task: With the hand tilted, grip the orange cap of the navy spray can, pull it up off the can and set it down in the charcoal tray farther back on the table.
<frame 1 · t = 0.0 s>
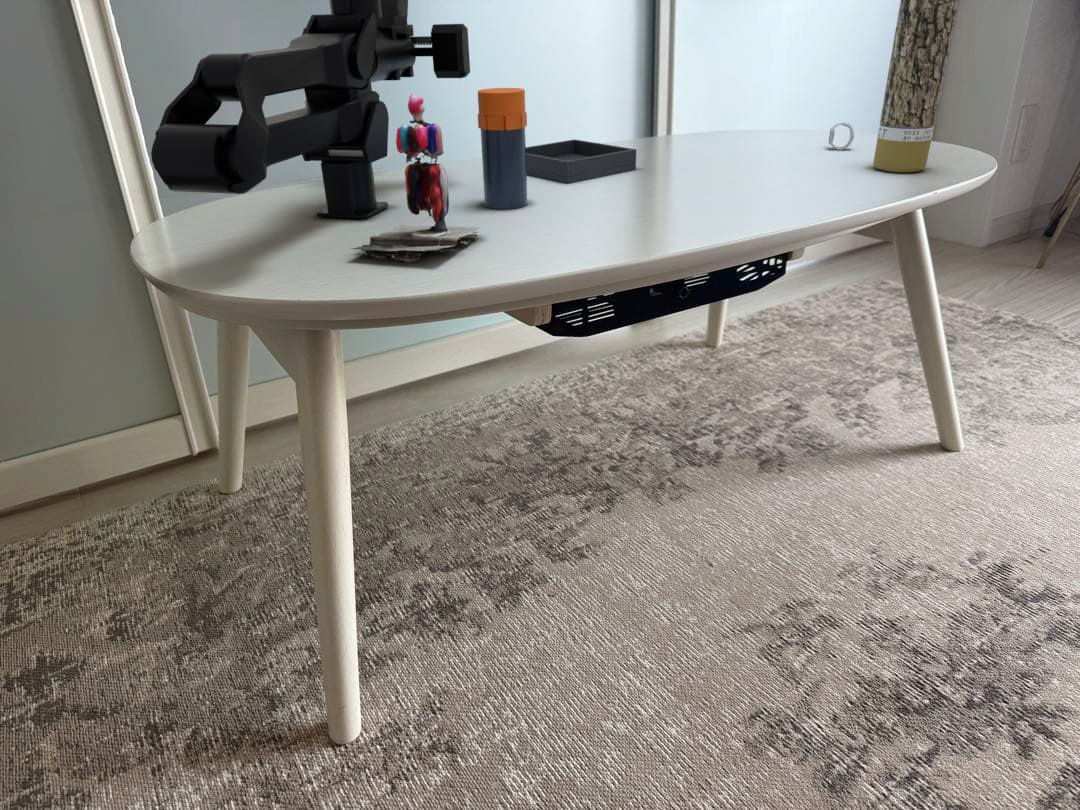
hand: (423, 47, 107), 17 cm above the table, tool horizontal, fingers open, 9 cm apart
spray can cap: (502, 126, 91), point 9 cm above the table, touching spray can
statue: (418, 250, 79), on the table
grey ring: (838, 150, 123), on the table
spray can: (506, 204, 95), on the table, touching spray can cap
tray: (571, 169, 113), on the table
paper tube: (898, 170, 108), on the table
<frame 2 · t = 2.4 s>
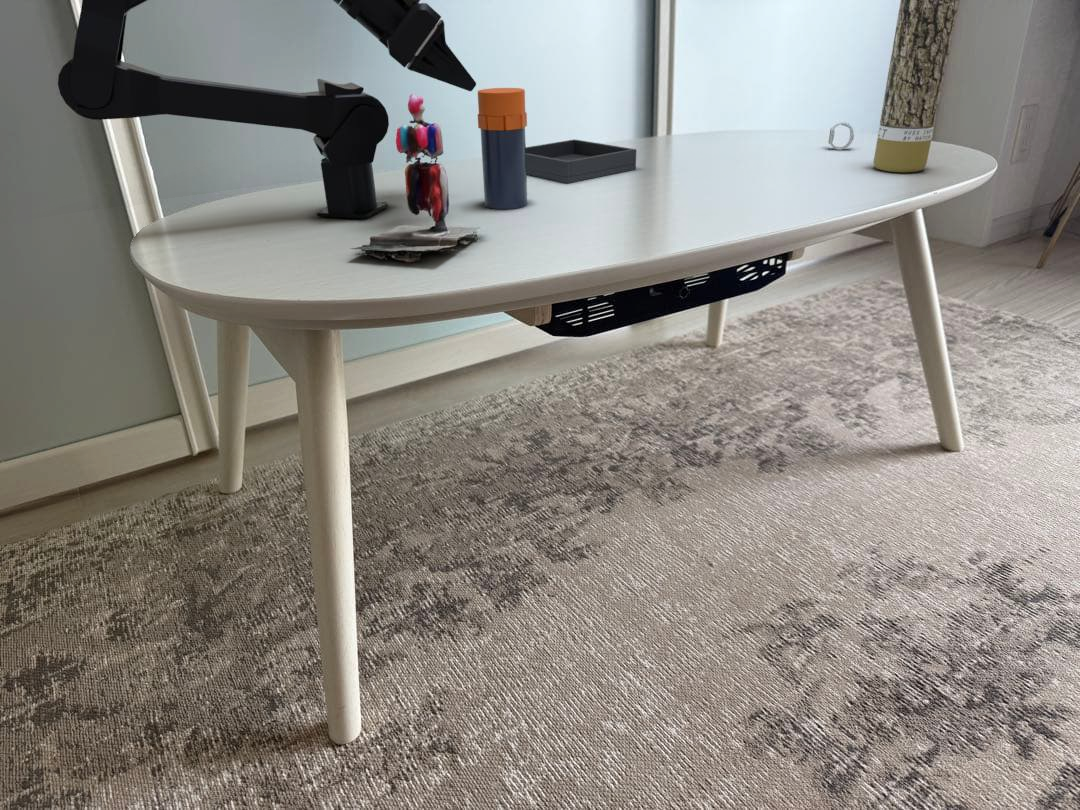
hand: (468, 83, 90), 14 cm above the table, tool tilted 50°, fingers open, 9 cm apart
nothing on the table moved.
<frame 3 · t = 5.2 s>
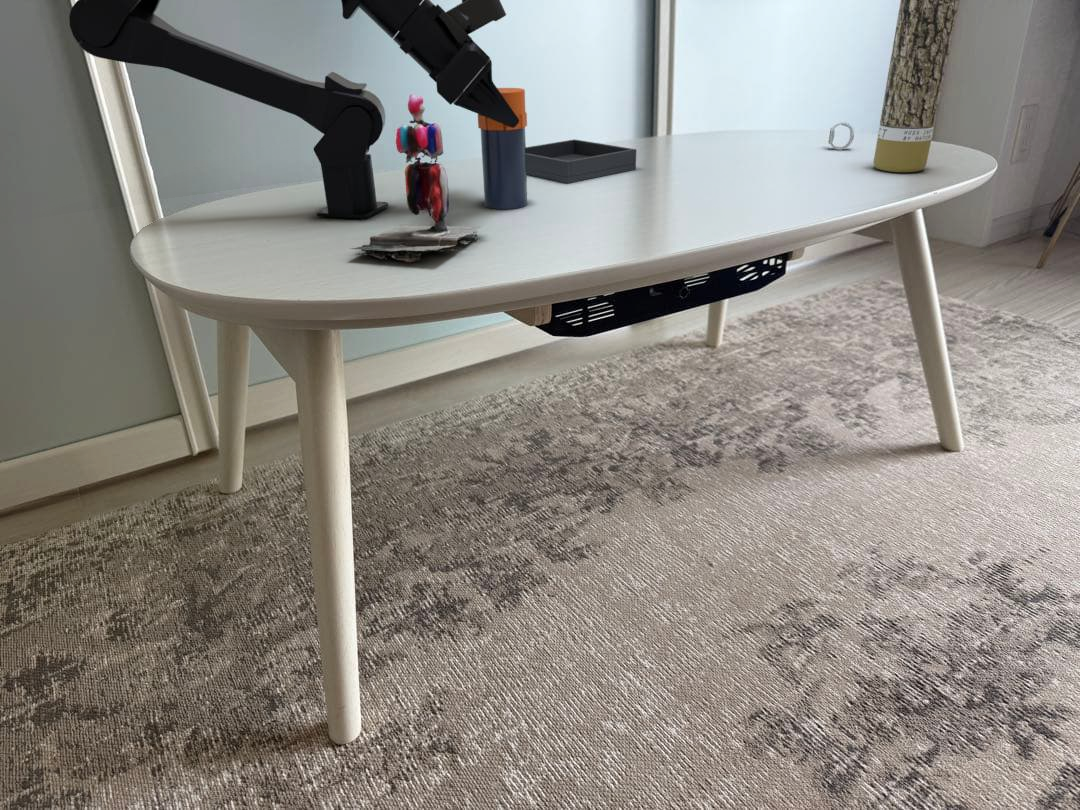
hand: (514, 121, 91), 10 cm above the table, tool tilted 45°, fingers closed on spray can cap, 5 cm apart
spray can cap: (502, 126, 91), point 9 cm above the table, touching gripper, spray can
everything else where it was.
when the fingers open (3 cm above the table, at t = 14.2 s): spray can cap drops 1 cm, resting on tray.
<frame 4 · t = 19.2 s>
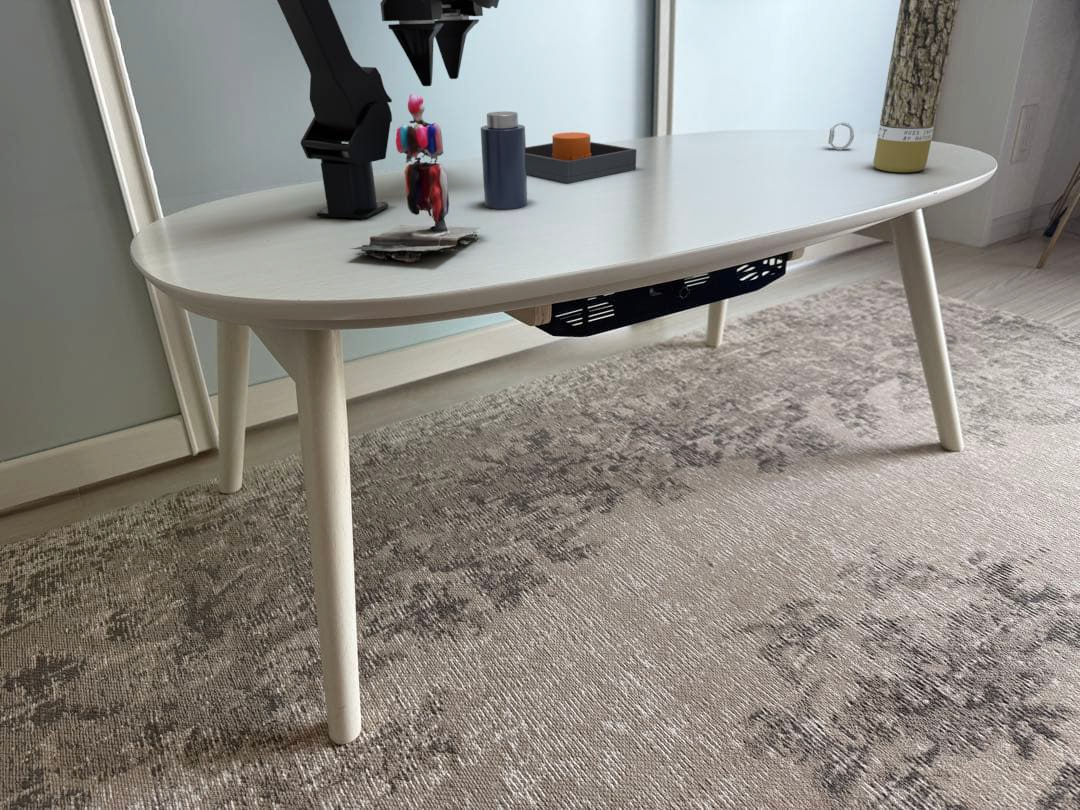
hand: (441, 82, 100), 13 cm above the table, tool pointing down, fingers open, 9 cm apart
spray can cap: (571, 164, 113), point 1 cm above the table, touching tray
spray can: (506, 204, 95), on the table
everything else where it was.
at the end: spray can cap inside the target area in the tray (0.0 cm from its centre), point 0.8 cm above the tray's base; the gripper is holding nothing; spray can tilted 0° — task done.
